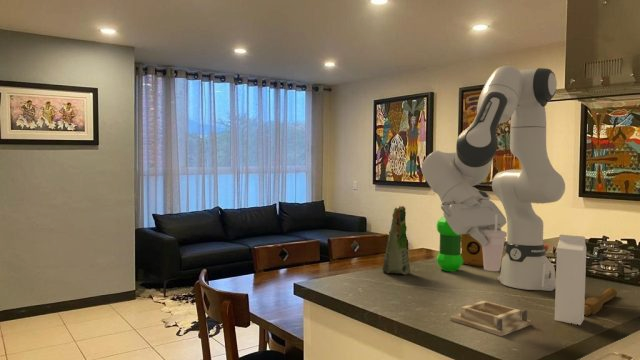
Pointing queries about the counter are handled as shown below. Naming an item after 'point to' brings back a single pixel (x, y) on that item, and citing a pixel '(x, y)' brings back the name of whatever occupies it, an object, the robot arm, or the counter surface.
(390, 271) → the pouch
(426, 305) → the counter surface
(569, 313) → the milk
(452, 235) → the plastic bottle
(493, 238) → the smoothie
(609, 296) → the tap handle
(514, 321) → the holder
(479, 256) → the coffee package
